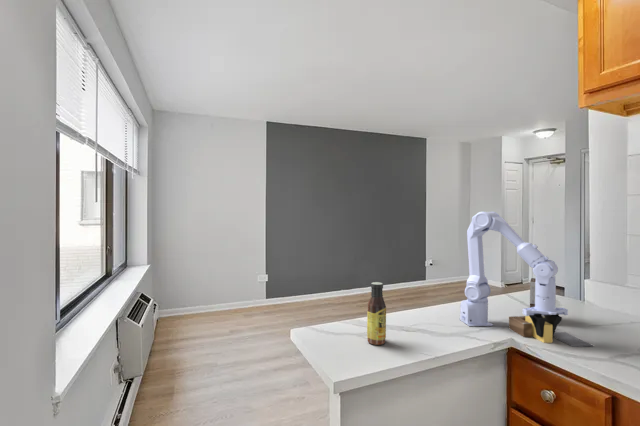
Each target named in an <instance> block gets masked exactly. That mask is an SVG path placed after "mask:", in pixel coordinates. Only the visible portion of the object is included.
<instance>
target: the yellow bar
mask: <svg viewBox="0 0 640 426" xmlns="http://www.w3.org/2000/svg"><path fill="white" fill-rule="evenodd" d="M524 316H525V321H527V322H529V323H532V337H531V338H534V339H536V340H538V341H540V342H542V343H543V344H550V343H551V344H552V343H553V337H552V335H553V325H552V324H550V323H547V322H545V324H544V334H543V337H540V336H538V335H537V334H536V330H535V327H534V324H533V322H532V320H531V318H530V316H526V315H524Z"/></svg>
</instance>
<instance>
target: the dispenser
mask: <svg viewBox="0 0 640 426" xmlns="http://www.w3.org/2000/svg"><path fill="white" fill-rule="evenodd" d="M525 316H526V315H522V316H520V315H519V316H508V329H509V330H511V331H512V332H514V333H516V334H517V335H520V336H521V337H523V338H533V337H532V323H529V322H527V321H525ZM545 322H546V321H545Z"/></svg>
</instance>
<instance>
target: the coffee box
mask: <svg viewBox="0 0 640 426" xmlns="http://www.w3.org/2000/svg"><path fill="white" fill-rule="evenodd" d="M535 281H536V277H533V278H532V277H531V279H530V281H529V282H530V283H529V285H530V286H529V308H531V307H535ZM542 316H543V318H545V316H544V315H542Z"/></svg>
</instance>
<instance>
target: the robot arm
mask: <svg viewBox="0 0 640 426" xmlns="http://www.w3.org/2000/svg"><path fill="white" fill-rule="evenodd" d="M490 230H491V231H495V232H498V233H500V234H501V235H502V236H503V237H504V238H505V239H506V240H508V241H509V243H511V244H512V245H513V246H514V247H516V254H517V255H518V256H519V257H520V259H522V260H523V261H524V262H525V263H526V264H527V265H528V266H529V267H530V268H532V273H533V275H534V276H535V278H536V281H535V307H531V308H530V307H526V308H522V315H523V316H530V318H531V320H532V322H533V324H534V327H535V330H536V334H537V335H538V336H540V337H543V334H544V324H545V321H546V322H547V323H550V324H552V325H553V335H554V332H556V329H557V327H558V325H559V324H560V322H562V320H563V318H562V317H563V316H568V315H569V312H568V311H569V310H568V309H567V308H565V307H556V295H557V294H556V293H557V291H556V290H557V287H556V285H557V284H556V274H557V273H558V271H559V268H558V265H557V264H556V262H555V261H553V260H551V259H549V256H548V255H546V256H545V255H544V254H543V253H542V252H541V251H540V249H538V246H537V244H533V243H532V242H527V241H525V240H524V239H523V238H522V237H521V236H520V235H519V234H518V233H517V232H516V231H515V230H514V229H513V227H512V226H511V225H509V223H508V221H506V220H505V219H504V217H503V216H501V215H500V214H499V213H498V212H496V211H478V212H477V213H476V214H475V215H473V216H472V217H471V222H470V223H469V225H468V228H467V231H466V239H467V240H466V241H467V254H468V271H469V272H468V273H469V276H468V277H467V280H466V284H465V285H466V287H465V289H464V295H465V297H466V299H463V300H461V301H460V306H459V308H460V315H459V316H460V317H459V320H460V321H461V322H462V323H464V324H465V325H467V326H469V327H489V326H490V327H493V326H494V324H493V323H491V322H489V299H488V297H490V295H491V294H492V293H491V291H492V290H491V287H490V285H489V282H488V281H489V280H488V278H487V277H486V275H485V263H484V261H485V259H484V245H483V235H485V234H486V233H487V232H488V231H490ZM542 315H544V316H545V318H543V316H542ZM562 315H563V316H562ZM553 335H552V338H554V337H553Z"/></svg>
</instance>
